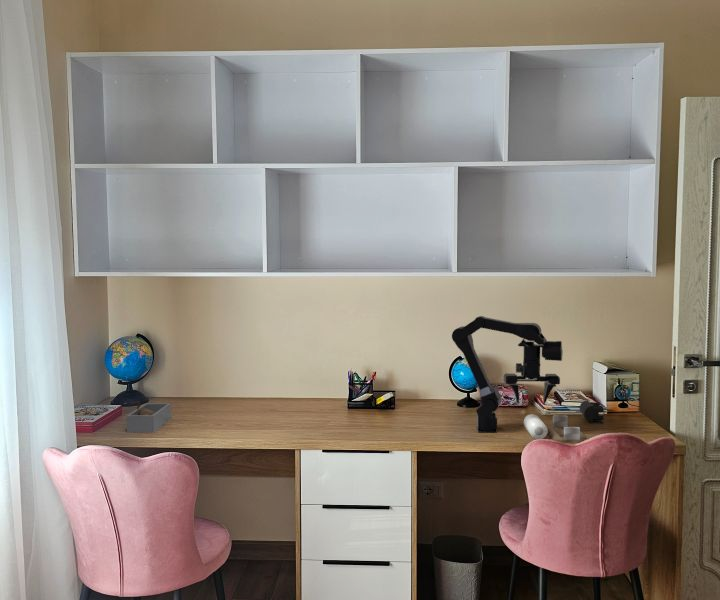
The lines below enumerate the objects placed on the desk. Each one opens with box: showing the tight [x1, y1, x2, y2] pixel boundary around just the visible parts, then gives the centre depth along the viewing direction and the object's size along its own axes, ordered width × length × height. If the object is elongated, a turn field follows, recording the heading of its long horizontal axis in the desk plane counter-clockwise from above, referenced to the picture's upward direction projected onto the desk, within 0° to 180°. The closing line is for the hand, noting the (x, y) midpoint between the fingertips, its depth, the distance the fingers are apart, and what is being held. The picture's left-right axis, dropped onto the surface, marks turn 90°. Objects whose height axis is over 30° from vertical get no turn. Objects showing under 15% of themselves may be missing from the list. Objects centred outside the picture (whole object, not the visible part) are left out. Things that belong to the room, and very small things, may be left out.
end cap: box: [579, 400, 605, 424], centre depth 269 cm, size 10×7×7 cm
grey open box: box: [128, 400, 166, 426], centre depth 264 cm, size 14×4×9 cm, turn 75°
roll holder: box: [546, 414, 588, 444], centre depth 247 cm, size 11×18×5 cm, turn 177°
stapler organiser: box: [125, 402, 172, 433], centre depth 264 cm, size 10×20×6 cm, turn 177°
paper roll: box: [523, 413, 548, 440], centre depth 249 cm, size 6×12×6 cm
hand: (531, 403), depth 248 cm, fingers open, 9 cm apart
